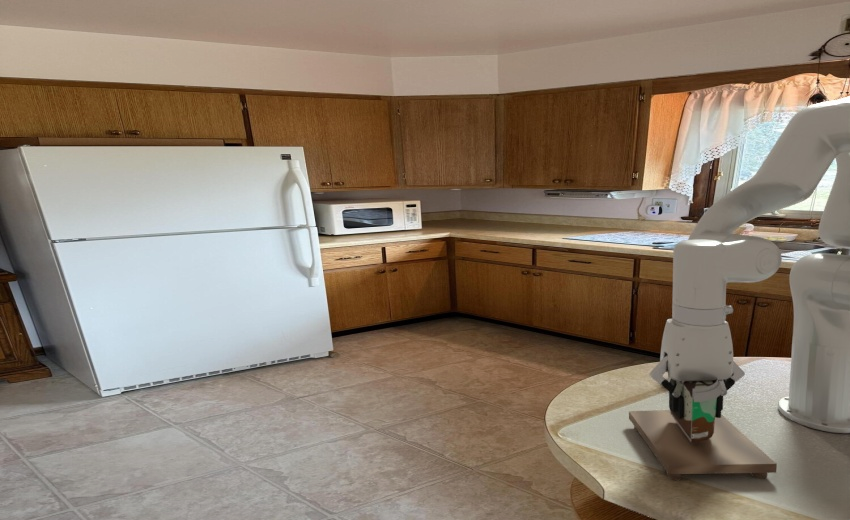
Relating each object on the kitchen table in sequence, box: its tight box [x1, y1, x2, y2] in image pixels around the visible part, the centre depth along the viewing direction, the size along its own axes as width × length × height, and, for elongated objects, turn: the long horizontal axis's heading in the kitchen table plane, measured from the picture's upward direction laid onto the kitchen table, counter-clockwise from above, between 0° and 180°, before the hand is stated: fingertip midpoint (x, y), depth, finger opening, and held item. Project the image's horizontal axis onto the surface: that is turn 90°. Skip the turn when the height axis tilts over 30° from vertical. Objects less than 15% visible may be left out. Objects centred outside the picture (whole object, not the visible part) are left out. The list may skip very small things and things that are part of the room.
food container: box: [667, 372, 722, 443], centre depth 77 cm, size 12×6×10 cm, turn 171°
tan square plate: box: [628, 409, 778, 481], centre depth 78 cm, size 16×17×3 cm
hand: (695, 413), depth 77 cm, fingers closed on food container, 5 cm apart
